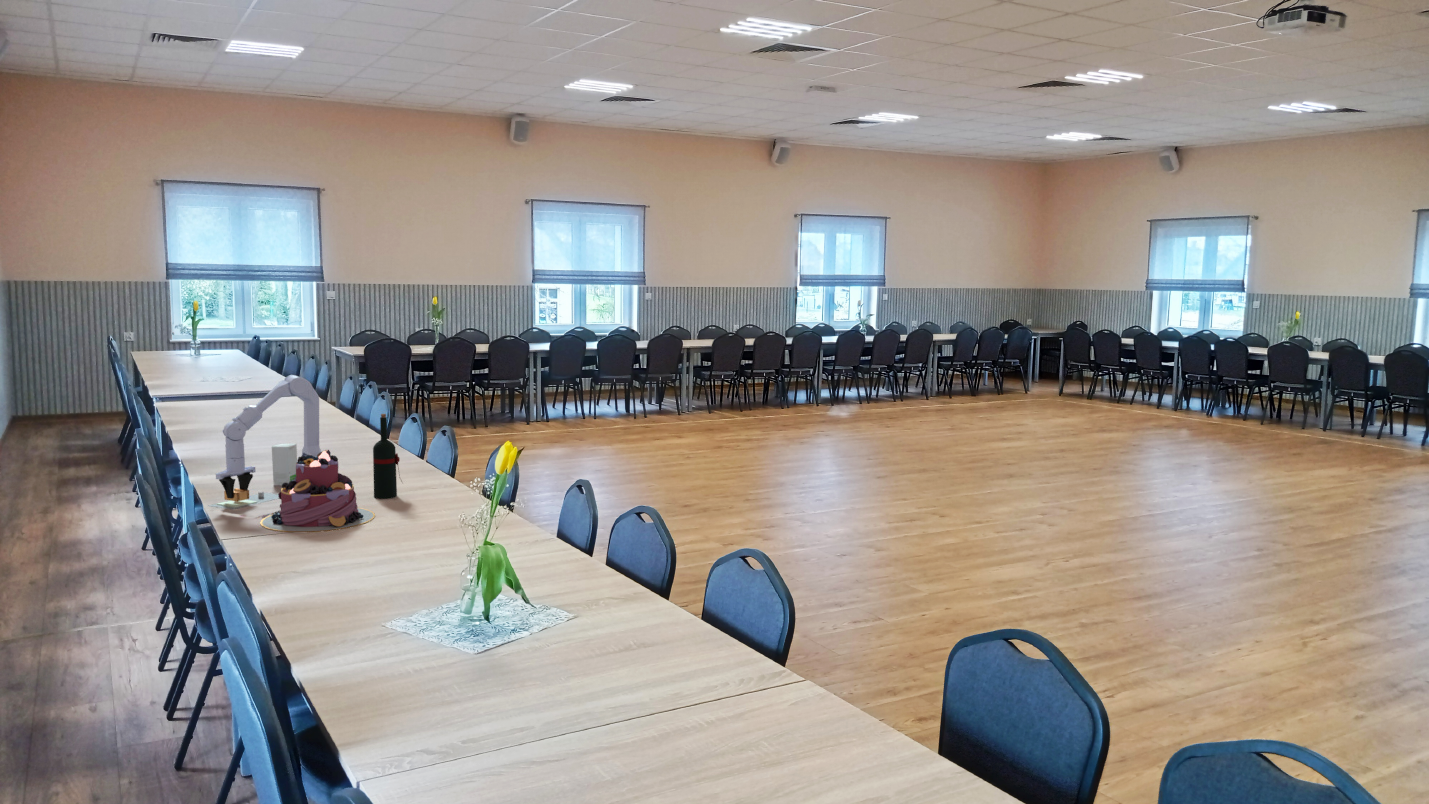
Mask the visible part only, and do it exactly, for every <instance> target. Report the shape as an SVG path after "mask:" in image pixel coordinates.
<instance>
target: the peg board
mask: <svg viewBox="0 0 1429 804" xmlns="http://www.w3.org/2000/svg"><path fill="white" fill-rule="evenodd" d="M278 494H279V493H272V492H264V491H258V492H257V493H255V494H252V495H249V499H246V500H242V501H238V502H237V501H231V500H226V501H221V502H217V503H213V504H207V507H212V508H213V507H214V508H219V509H220V508H221V509H226V510H237V509H241V508H246V507H250V506H254V505H259V504H261V503H266V502H271V501H275V500H278V499H279V496H278ZM279 500H280V499H279Z"/></svg>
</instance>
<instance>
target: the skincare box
mask: <svg viewBox="0 0 1429 804" xmlns="http://www.w3.org/2000/svg"><path fill="white" fill-rule="evenodd" d="M297 446H298V445H297V443H279V444H275V445H273V446H271V457H272V458H271V460H272V462H271V463H272V479H273V480H272V482H273V483H272V484H273V486H279V487H282V484H283V483H289V482H290V481H291V480H294V479H295V477H296V463H297V462H298V448H297Z"/></svg>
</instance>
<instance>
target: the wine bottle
mask: <svg viewBox="0 0 1429 804" xmlns="http://www.w3.org/2000/svg"><path fill="white" fill-rule="evenodd" d="M386 415H387V414H386V413H380V418H379V421H380V423H379V424H380V425H379V426H380V440H378V441H377V442H376V443H375V444H374V445H373V448H372V452H373V453H372V457H373V458H372V462H373V466H372V467H373V469H372V470H373V497H374V499H377V500H378V499H379V500H387V499H395V498H397V496H398V489H397V488H398V487H397V484H398V483H397V482H398V481H397V469H398V471H400V470H399V469H400V468H399V463H400V456H399V453H398V452H397V453H396V446H395V444H394V443H393V442H392V441H391V440H388V419H387V418H388V417H387V416H386ZM398 475H399V478H401V476H400V475H401V474H400V473H398ZM400 482H401V483H402V484H404V482H403V481H402V479H400Z"/></svg>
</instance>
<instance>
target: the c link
mask: <svg viewBox="0 0 1429 804" xmlns="http://www.w3.org/2000/svg"><path fill="white" fill-rule="evenodd" d="M223 492H224V493H223V494H224V495H223V496H224V500H226V501H230V500H231V501H237V502H238V501H242V500H246V499H249V496H250V490H249V489H248V490H245V489H240V487H239V488H237V487H236V488H234V494H233V498H232V499H231V498H227V495H226V492H225V490H224V491H223Z"/></svg>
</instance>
